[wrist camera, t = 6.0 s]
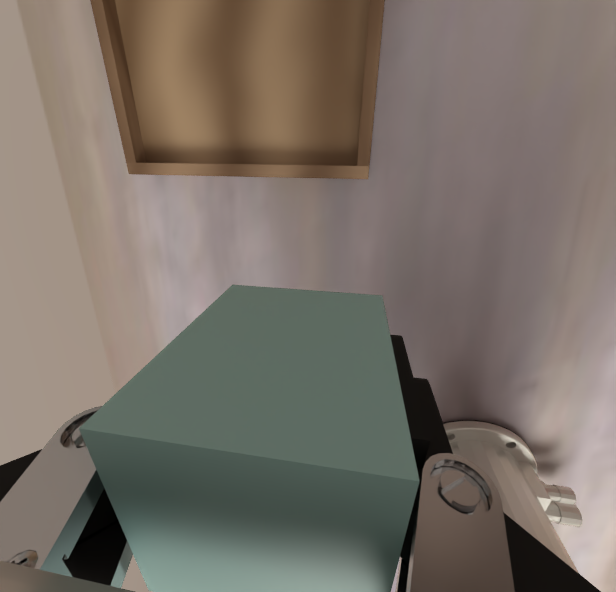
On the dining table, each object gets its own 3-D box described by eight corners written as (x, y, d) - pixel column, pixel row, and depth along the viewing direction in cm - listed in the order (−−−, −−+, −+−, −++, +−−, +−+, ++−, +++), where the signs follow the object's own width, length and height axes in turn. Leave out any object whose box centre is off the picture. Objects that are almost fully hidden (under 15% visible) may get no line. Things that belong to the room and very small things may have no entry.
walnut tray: (404, -226, 14) (410, -280, 12) (367, 178, 21) (368, 179, 19) (75, -172, 16) (44, -211, 15) (144, 173, 24) (128, 174, 22)
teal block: (382, 295, 9) (419, 481, 4) (367, 412, 11) (376, 643, 6) (232, 284, 10) (77, 428, 4) (244, 397, 12) (148, 590, 6)
